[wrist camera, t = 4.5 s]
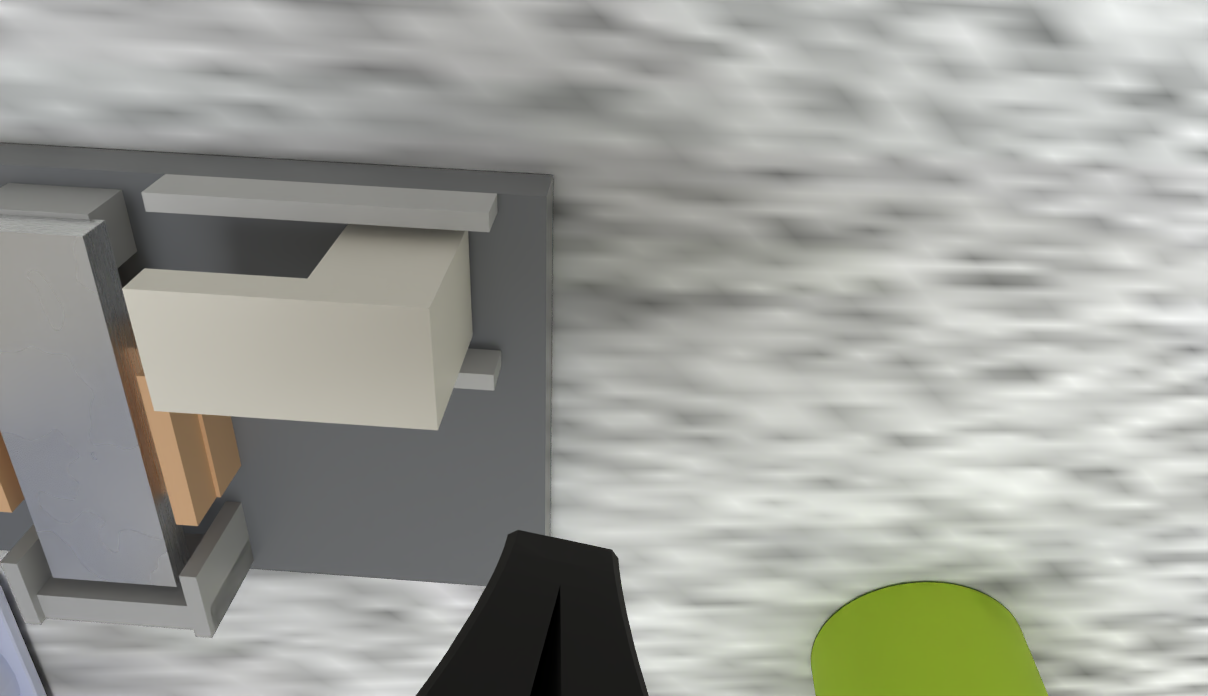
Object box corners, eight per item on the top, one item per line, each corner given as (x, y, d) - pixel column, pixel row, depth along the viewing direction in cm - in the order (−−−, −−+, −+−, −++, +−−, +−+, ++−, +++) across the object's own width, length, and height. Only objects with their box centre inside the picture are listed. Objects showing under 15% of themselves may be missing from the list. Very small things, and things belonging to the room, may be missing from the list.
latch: (472, 335, 20) (437, 430, 17) (229, 319, 20) (154, 410, 18) (467, 226, 19) (429, 308, 16) (208, 210, 19) (121, 288, 16)
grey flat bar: (192, 563, 23) (176, 587, 22) (71, 554, 23) (53, 577, 22) (104, 220, 18) (82, 236, 17) (-45, 210, 18) (-73, 227, 18)
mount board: (550, 558, 25) (531, 671, 22) (-90, 511, 26) (-199, 614, 23) (553, 174, 20) (529, 252, 16) (-267, 127, 20) (-446, 192, 17)
